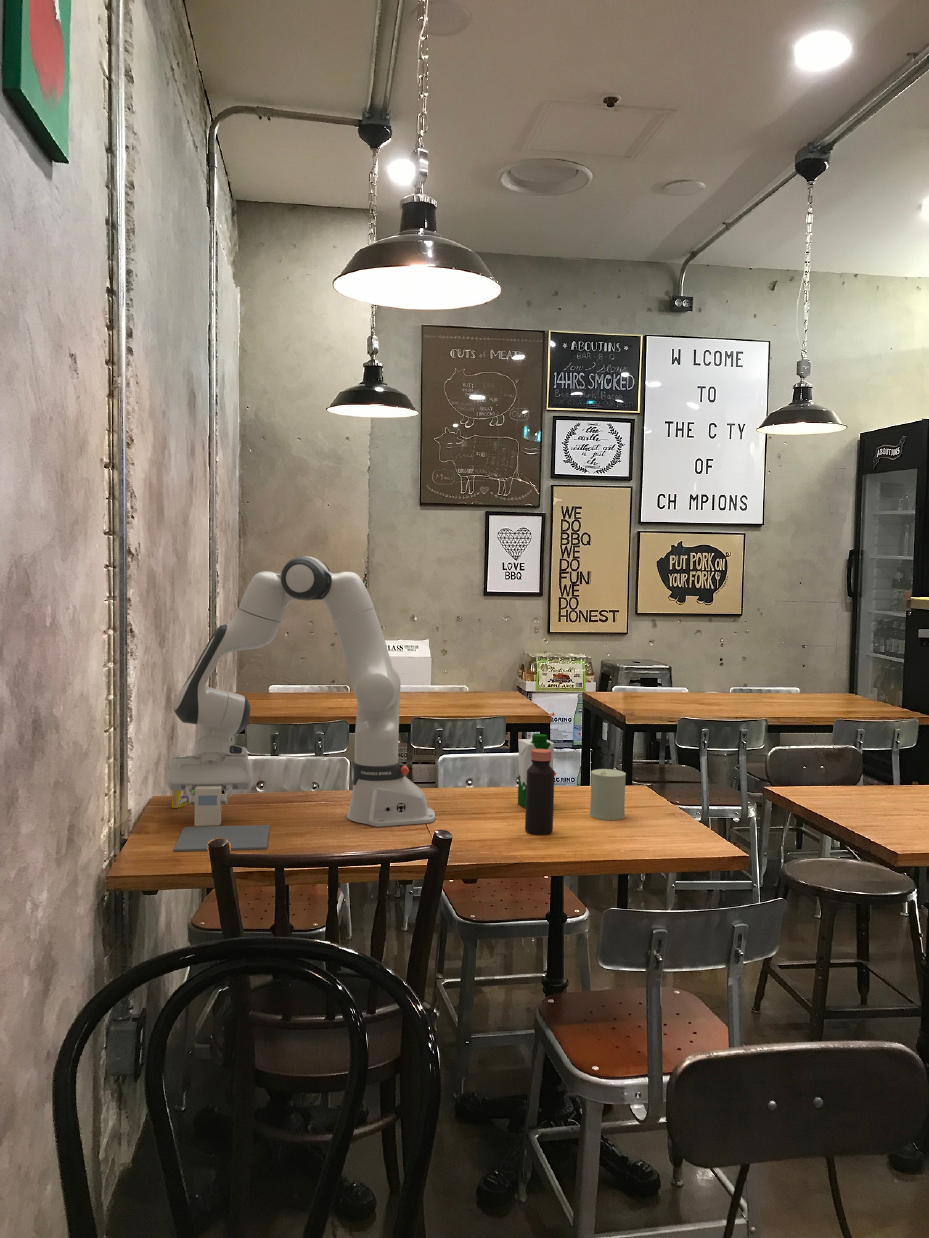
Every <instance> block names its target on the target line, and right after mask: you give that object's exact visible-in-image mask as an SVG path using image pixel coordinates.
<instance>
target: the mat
mask: <svg viewBox="0 0 929 1238" xmlns="http://www.w3.org/2000/svg"><path fill="white" fill-rule="evenodd" d="M270 830H271V824H267V825H266V824H264V825H263V824H261V825H260V824H256V825H254V824H253V825H252V824H251V825H249V824H248V825H216V826H184V827H183V829H182V831H181V834H180V835H179V837H178V838H177V839H178V840H177V841H176V843H175V845H174V847H173V851H172V852H174V853H176V852H179V851H182V852H208V851H207V844H208V842H209V841H210V840H212V839H216V838H224V839H228V841H229V842H230V844H231V850H230V851H247V850H248V851H253V850H256V849H257V850H268V849H267V848H268V843H269V837H270V836H269V835H270Z"/></svg>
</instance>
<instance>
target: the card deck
mask: <svg viewBox="0 0 929 1238" xmlns="http://www.w3.org/2000/svg"><path fill="white" fill-rule="evenodd" d="M222 791H223V790H222V786H196V788H195V805H194V824H193V827H200V826H221V823H222V804H221V795H223V794H222Z"/></svg>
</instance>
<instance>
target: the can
mask: <svg viewBox="0 0 929 1238" xmlns="http://www.w3.org/2000/svg"><path fill="white" fill-rule="evenodd" d="M590 775H591V776H590V778H591V779H590V783H591V784H590V786H591V787H590V810H589V816H590V818H591V817H592V818H593V819H595V820H600V821H619V820H623V819H624V818H625V817H626V815H625V800H626V799H625V798H626V777H627V773H626V772H624V771H622V770H619V769H609V768H598V769H593V770H591V773H590Z"/></svg>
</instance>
